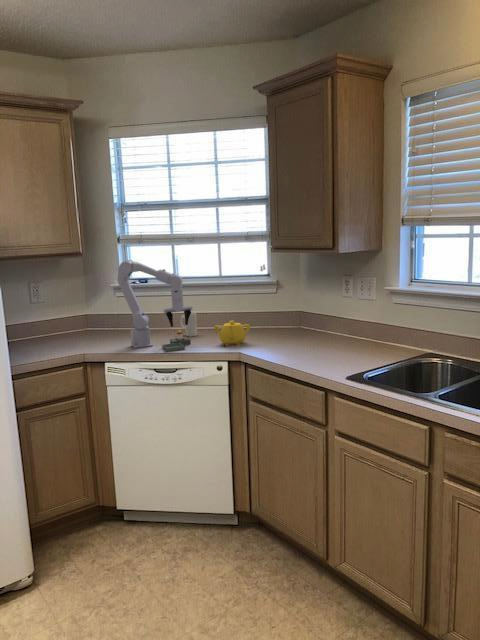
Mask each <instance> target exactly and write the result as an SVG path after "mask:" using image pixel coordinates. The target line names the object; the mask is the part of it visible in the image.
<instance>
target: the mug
mask: <svg viewBox="0 0 480 640" xmlns="http://www.w3.org/2000/svg"><path fill="white" fill-rule="evenodd" d="M183 319H184V320H183ZM183 321H184V322H185V315H184V314H183V315H181V316H180V321H179V324H180V326H181V329H182V331H183V330H184V331H185V337H195V336H197V335H198V320H197V313H196V312H191V314H190V316H189V320H188V325H185V324H183Z"/></svg>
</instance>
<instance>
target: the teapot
mask: <svg viewBox="0 0 480 640" xmlns="http://www.w3.org/2000/svg"><path fill="white" fill-rule="evenodd" d="M245 327H246V330H245V329H244V328H245ZM218 328H219V329H220V328H221V329H220V330H219V329H218ZM250 328H251V325H250V324H248V323H247V324H246V323H245V324H241V323H240V322H236V321H235V320H229V322H227V323H224V324H222V325H218V324H217V325H216V324H215V325H214V330H215V332H216V333H217V335H218V336H219V339H220V341H221V343H222V344H224V346H225V347H229V346H231V345H230V344H235V346H237V345H240V346H241V345H242V343H243V342H245V340H246V336H247V334H248V333H249V331H250Z"/></svg>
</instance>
